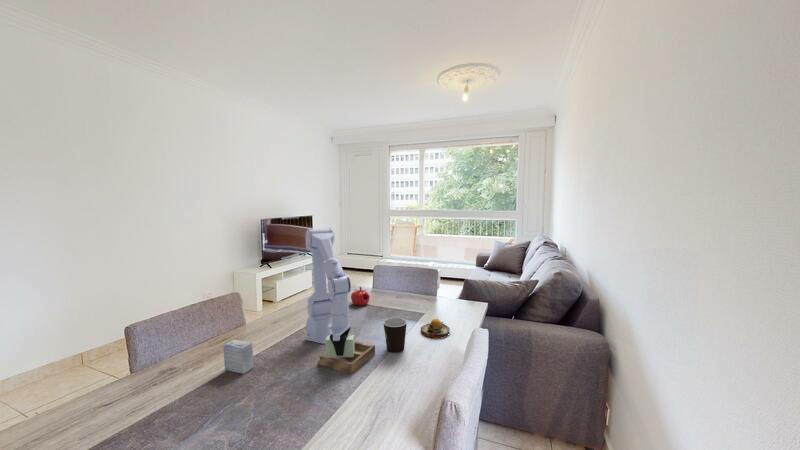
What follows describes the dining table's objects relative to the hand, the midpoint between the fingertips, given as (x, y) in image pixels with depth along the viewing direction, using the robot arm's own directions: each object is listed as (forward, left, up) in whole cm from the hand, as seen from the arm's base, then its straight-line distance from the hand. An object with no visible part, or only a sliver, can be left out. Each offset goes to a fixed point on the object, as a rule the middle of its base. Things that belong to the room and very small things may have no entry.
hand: (341, 352), depth 102 cm
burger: (+20, +36, -4) cm, 42 cm away
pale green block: (0, 0, -1) cm, 1 cm away
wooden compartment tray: (0, +3, -4) cm, 5 cm away
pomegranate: (-28, +53, -4) cm, 60 cm away
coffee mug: (+11, +18, -4) cm, 22 cm away
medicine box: (-29, -17, -4) cm, 33 cm away
